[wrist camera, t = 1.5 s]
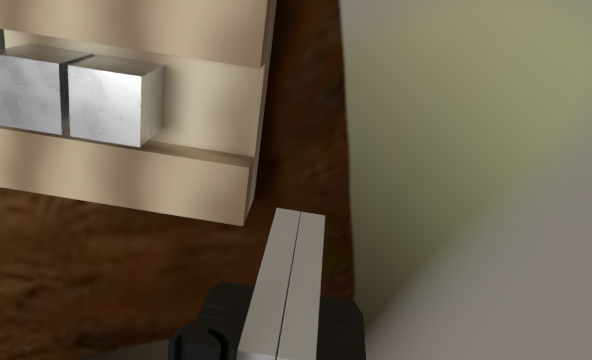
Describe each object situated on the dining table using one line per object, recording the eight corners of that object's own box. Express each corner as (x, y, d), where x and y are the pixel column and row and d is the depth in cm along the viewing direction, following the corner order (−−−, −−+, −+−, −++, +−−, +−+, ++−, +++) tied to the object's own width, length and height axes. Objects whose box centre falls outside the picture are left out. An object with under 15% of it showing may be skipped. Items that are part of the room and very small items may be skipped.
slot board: (36, 162, 36) (-3, 186, 32) (22, -48, 31) (-27, -52, 27) (254, 197, 36) (243, 226, 32) (278, -9, 31) (268, -7, 26)
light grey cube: (101, 117, 32) (70, 136, 28) (100, 54, 30) (67, 65, 27) (163, 127, 32) (140, 147, 28) (165, 64, 30) (141, 76, 27)
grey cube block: (32, 107, 32) (-8, 124, 28) (28, 43, 30) (-15, 52, 27) (94, 116, 32) (61, 134, 28) (92, 53, 30) (58, 63, 27)
